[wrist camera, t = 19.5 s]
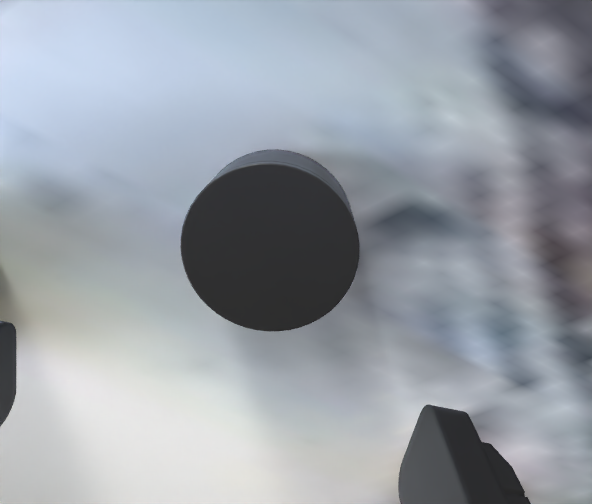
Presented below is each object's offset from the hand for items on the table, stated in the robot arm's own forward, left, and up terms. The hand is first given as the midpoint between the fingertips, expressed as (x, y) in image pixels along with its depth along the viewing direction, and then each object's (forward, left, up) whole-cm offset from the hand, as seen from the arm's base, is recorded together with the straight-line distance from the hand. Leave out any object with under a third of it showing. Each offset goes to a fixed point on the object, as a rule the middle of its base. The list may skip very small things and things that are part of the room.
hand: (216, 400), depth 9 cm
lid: (0, -1, -13) cm, 13 cm away
